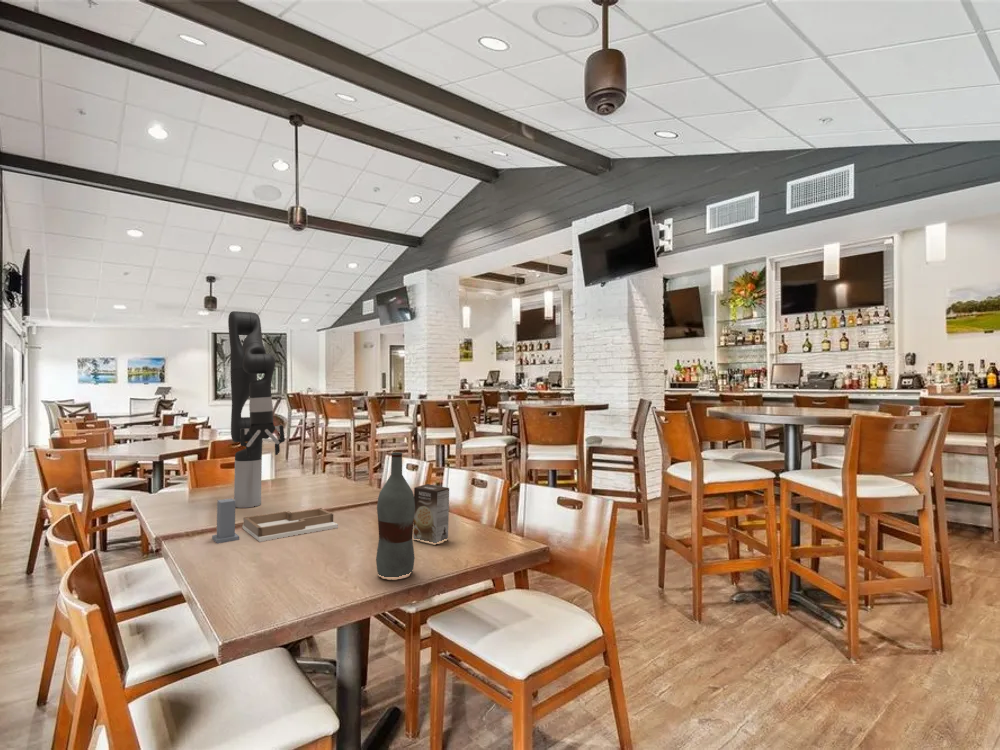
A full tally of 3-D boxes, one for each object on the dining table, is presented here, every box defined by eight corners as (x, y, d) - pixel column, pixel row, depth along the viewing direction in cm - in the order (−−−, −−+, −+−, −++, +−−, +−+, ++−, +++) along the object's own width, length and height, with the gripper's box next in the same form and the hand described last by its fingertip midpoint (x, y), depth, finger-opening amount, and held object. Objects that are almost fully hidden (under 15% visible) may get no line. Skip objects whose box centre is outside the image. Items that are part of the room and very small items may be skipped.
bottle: (379, 584, 125) (381, 456, 125) (372, 571, 133) (374, 451, 133) (418, 578, 128) (420, 454, 129) (409, 566, 137) (410, 449, 137)
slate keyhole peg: (212, 538, 158) (212, 500, 158) (233, 535, 162) (234, 497, 162) (216, 543, 154) (217, 503, 154) (239, 539, 158) (239, 501, 158)
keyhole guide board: (242, 528, 169) (242, 516, 169) (316, 516, 185) (316, 506, 185) (259, 541, 156) (259, 529, 156) (337, 527, 171) (338, 516, 171)
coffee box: (411, 540, 158) (412, 487, 159) (425, 535, 164) (426, 483, 164) (435, 546, 153) (436, 490, 154) (449, 540, 159) (450, 487, 159)
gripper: (281, 408, 194) (283, 452, 194) (238, 411, 187) (240, 457, 187) (284, 409, 187) (286, 455, 187) (239, 412, 180) (241, 459, 180)
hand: (263, 456), depth 187 cm, fingers open, 8 cm apart
